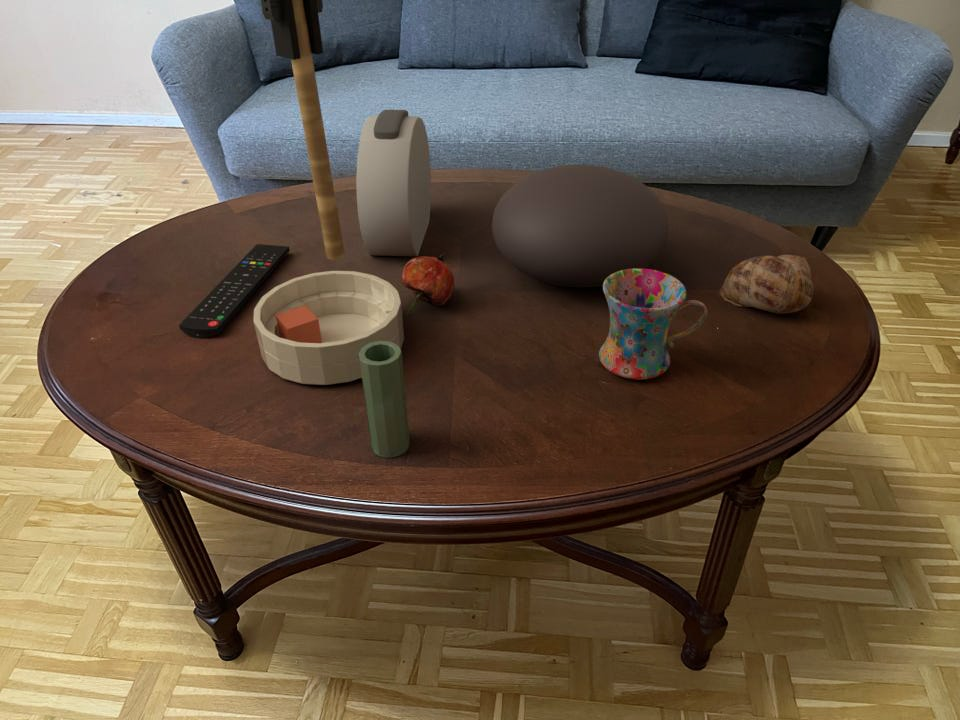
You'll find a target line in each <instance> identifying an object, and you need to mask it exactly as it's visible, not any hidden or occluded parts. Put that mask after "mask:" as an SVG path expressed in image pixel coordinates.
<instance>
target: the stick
mask: <svg viewBox="0 0 960 720" xmlns="http://www.w3.org/2000/svg"><path fill="white" fill-rule="evenodd" d="M292 2H293V9H294V16H295V23H296V30H297V37H298V44H299V50H300V57H301V58H300V59H296V60H292V59H290V61H291V67H292V72H293V78H294V83H295V89H296V90H295V91H296V95H297V101H298V106H299V111H300V117H301V118H300V119H301V122H302V129H303V133H304V140H305V144H306V150H307V155H308V161H309V167H310V174H311V177H312V183H313V184H312V185H313V189H314V194H315V195H314V196H315V200H316V207H317V211H318V212H317V213H318V216H319V222H320V227H321V228H320V229H321V234H322V239H323V245H324V251H325V255H326V256H325V257H326V259H328V260H332V261H333V260H334V261H335V260H340V259H342V258H344V257H345V255H346V253H345V247H344V240H343V235H342V230H341V224H340V223H341V221H340V217H339V210H338V205H337V199H336V192H335V186H334V180H333V174H332V169H331V163H330V156H329V151H328V150H329V149H328V143H327V139H326V132H325V125H324V120H323V114H322V108H321V101H320V96H319V89H318V83H317V78H316V77H317V76H316V71H315V66H314V59H313V54H312V52H311V46H310V40H309V34H308V28H307V22H306V16H305V10H304V4H303V0H292Z"/></svg>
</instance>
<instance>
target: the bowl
mask: <svg viewBox="0 0 960 720" xmlns="http://www.w3.org/2000/svg"><path fill="white" fill-rule="evenodd" d="M304 305H306V307H307V308H308V309H309V310H310V311H311V312H312V313H313V314H314V315H315V316H316V317H317V318H318V320H319V326H320V332H321V338H322V343H300V342H295V341H291V340H287V339H283V338H280V335H279V330H278V325H277V320H276V316H275V315H277V314H280V313H283V312H286V311H289V310H292V309H295V308H298V307H301V306H304ZM252 320H253V325H254V329H255V335H256V339H257V342H258V345H259V351H260V356H261V359H262V360H263V362H264V364H265V365H266V367H267V368H268V370H269V371H271V372H273V373H274V374H276V375H277V376H278V377H280V378H281V379H284V380H287V381H290V382H295V383H298V384H302V385H317V386H318V385H319V386H328V385H335V384H342V383H349V382H353V381H357V380H358V379H362V376H361V369H360V362H359V352H360V350H361V349H362V347H364V346H366V345H367V344H369V343H372V342H377V341H388V342H393V343H394V344H396V345H398V346H399V347H400V350H401V351H402V347H403V344H404V340H405V333H404V323H403V322H404V321H403V310H402V300H401V297H400V294H399V291H398V290H397V289H396V288H395V287H394V286H393V285H392V284H391V283H390V282H389V281H388V280H385V279H383V278H381V277H379V276H376V275H374V274H370V273H365V272H360V271H353V270H329V271H319V272H313V273H308V274H304V275H301V276H297V277H294V278H292V279H289V280H287V281H285V282H283V283H281V284H278V285H276V286H274V287H273V288H271V290H269V291H268V292H267V293H265V294H264V295H263V296H261V298H260V299H259V300H258V301H257V304H256V305H255V307H254V309H253V319H252Z"/></svg>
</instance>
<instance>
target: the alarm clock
mask: <svg viewBox="0 0 960 720" xmlns="http://www.w3.org/2000/svg"><path fill="white" fill-rule="evenodd" d="M361 129H362V130H361V133H360V137H359V143H358V151H357V158H356V177H355V178H356V204H357V205H356V206H357V216H358V223H359V229H360V234H361V238H362V241H363V245H364V247H365V250H366V252H367V253H368V255H370V256H380V257H381V256H382V257H383V256H384V257H388V256H389V257H411V258H417V257H419V253H420V250H421V247H422V245H423V242H424V238H425V236H426V233H427V231H428V227H429V224H430V219H431V201H432V200H431V199H432V172H431V155H430V145H429V138H428V133H427V129H426V124H425V122H424V120H423V118H421V117H420V116H417V115H415V116H414V115H409V111H408V110H406V109H384V110H382V111H380V113H379V114H378V115H370V116H368V117H367V118H366V119H365V122H364V124H363V127H362V128H361Z"/></svg>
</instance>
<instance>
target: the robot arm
mask: <svg viewBox="0 0 960 720" xmlns="http://www.w3.org/2000/svg"><path fill="white" fill-rule="evenodd" d="M303 4H304V10H305V16H306V22H307V28H308V34H309V40H310V46H311V52H312V55H317V56H318V55H323V54H324V48H323V39H322V33H321V25H320V18H319V17H320V16H319V13H323V7H324V3H323V0H303ZM260 5H261V11H262V14H263V17H264V19H265V20H269V21H270V24H271V30H272V36H273V42H274V49H275V56H277V57H281V58H285V59H289V60H291V59H292V60H296V59H300V58H301V57H300V50H299V44H298V37H297V30H296V23H295V16H294V9H293V2H292V0H260Z"/></svg>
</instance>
